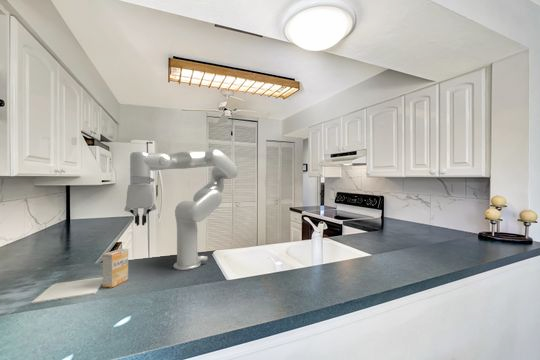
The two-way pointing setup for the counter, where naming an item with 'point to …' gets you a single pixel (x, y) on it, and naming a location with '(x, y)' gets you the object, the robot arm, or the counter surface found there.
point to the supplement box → (115, 267)
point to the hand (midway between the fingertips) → (140, 224)
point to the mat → (70, 290)
